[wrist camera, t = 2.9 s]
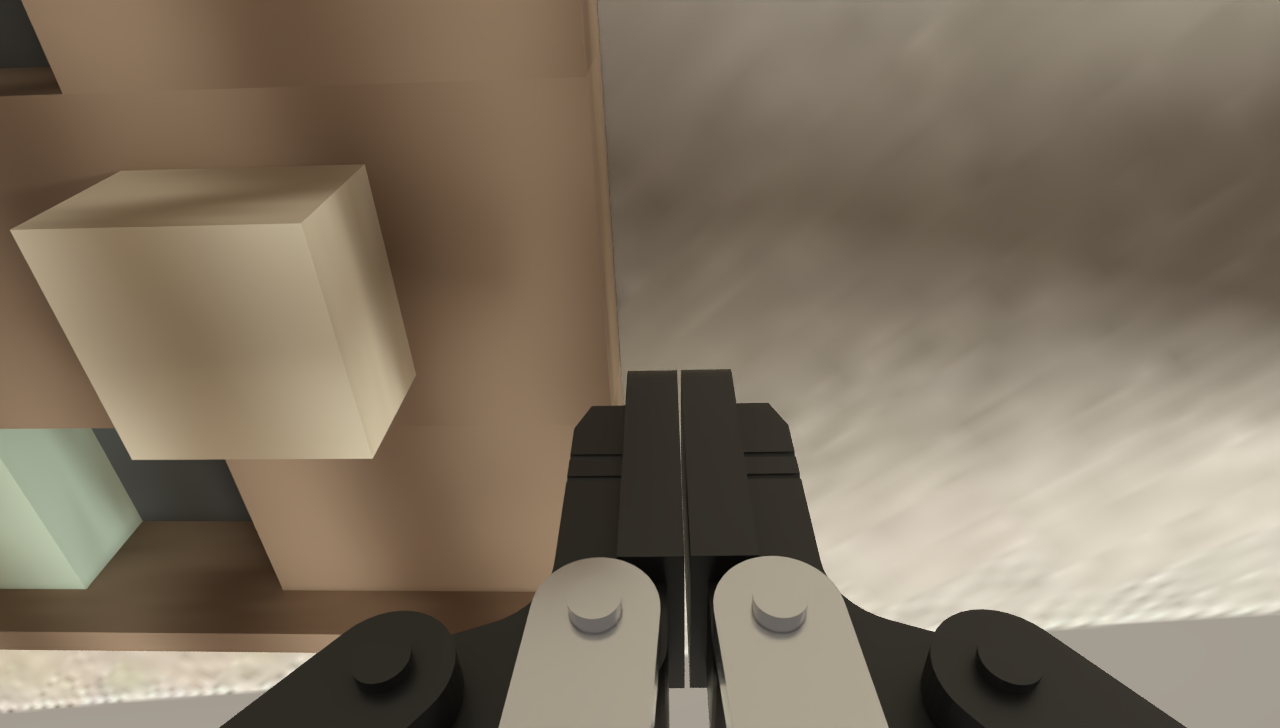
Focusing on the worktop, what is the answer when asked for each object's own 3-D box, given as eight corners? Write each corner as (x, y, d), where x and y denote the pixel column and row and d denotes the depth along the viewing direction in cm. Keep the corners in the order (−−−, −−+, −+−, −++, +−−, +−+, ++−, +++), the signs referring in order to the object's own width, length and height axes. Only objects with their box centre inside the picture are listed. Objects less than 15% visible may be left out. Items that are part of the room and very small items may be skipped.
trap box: (571, -391, 12) (526, -505, 9) (631, 534, 24) (623, 655, 20) (-661, -307, 14) (-1166, -375, 10) (-37, 533, 26) (-160, 647, 22)
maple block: (365, 164, 15) (300, 223, 12) (416, 374, 17) (372, 458, 15) (120, 171, 15) (10, 230, 13) (208, 377, 18) (131, 459, 15)
